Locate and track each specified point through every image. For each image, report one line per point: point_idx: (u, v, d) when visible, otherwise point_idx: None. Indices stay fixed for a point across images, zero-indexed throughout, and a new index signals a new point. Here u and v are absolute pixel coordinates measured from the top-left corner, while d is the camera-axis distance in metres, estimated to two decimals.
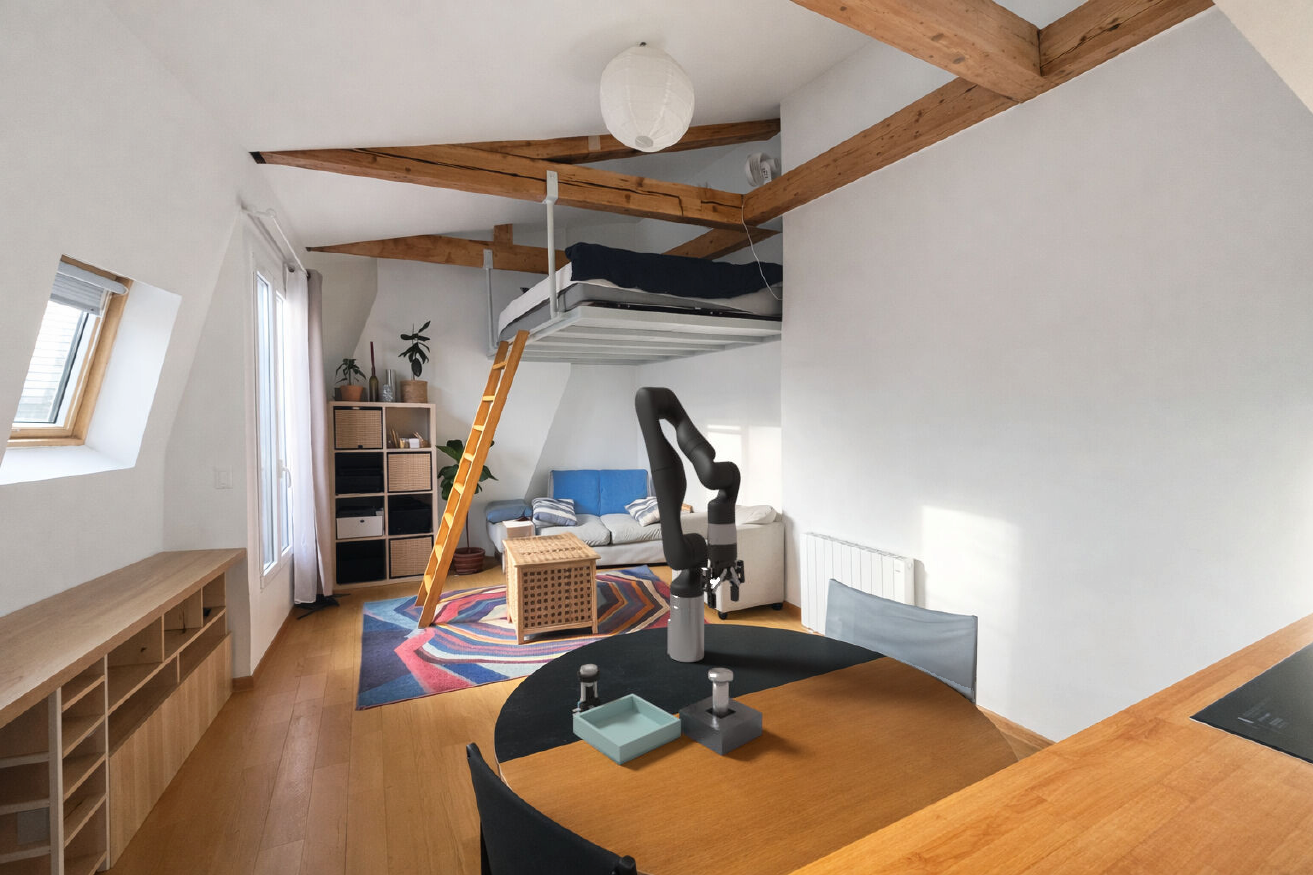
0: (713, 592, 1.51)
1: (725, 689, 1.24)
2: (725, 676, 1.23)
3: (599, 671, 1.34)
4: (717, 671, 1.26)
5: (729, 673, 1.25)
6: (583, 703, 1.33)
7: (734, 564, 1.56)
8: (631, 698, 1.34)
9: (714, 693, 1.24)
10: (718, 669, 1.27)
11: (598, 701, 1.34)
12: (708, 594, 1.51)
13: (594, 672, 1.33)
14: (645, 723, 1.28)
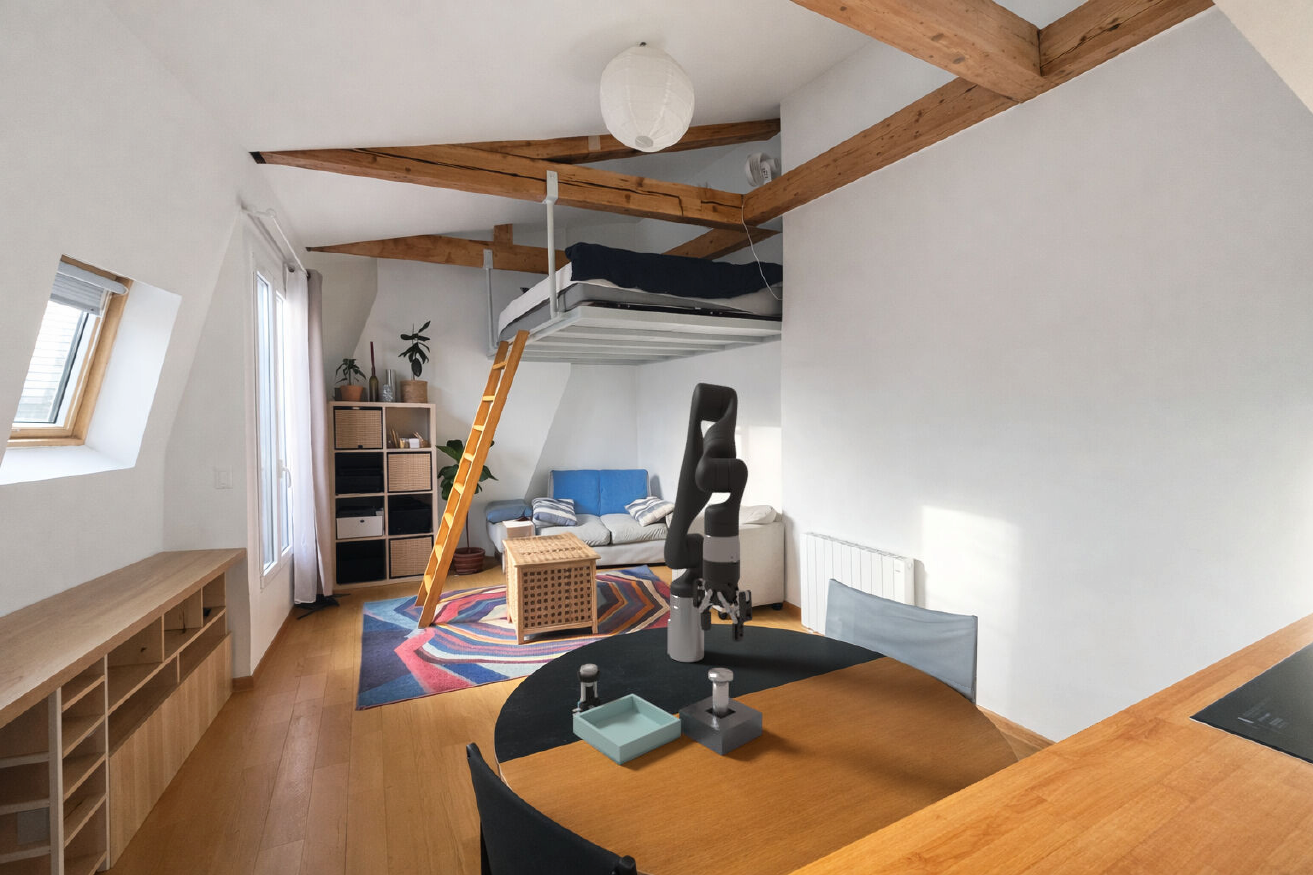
0: None
1: (725, 689, 1.24)
2: (725, 676, 1.23)
3: (599, 671, 1.34)
4: (717, 671, 1.26)
5: (729, 673, 1.25)
6: (583, 703, 1.33)
7: None
8: (631, 698, 1.34)
9: (714, 693, 1.24)
10: (718, 669, 1.27)
11: (598, 701, 1.34)
12: (740, 624, 1.21)
13: (594, 672, 1.33)
14: (645, 723, 1.28)
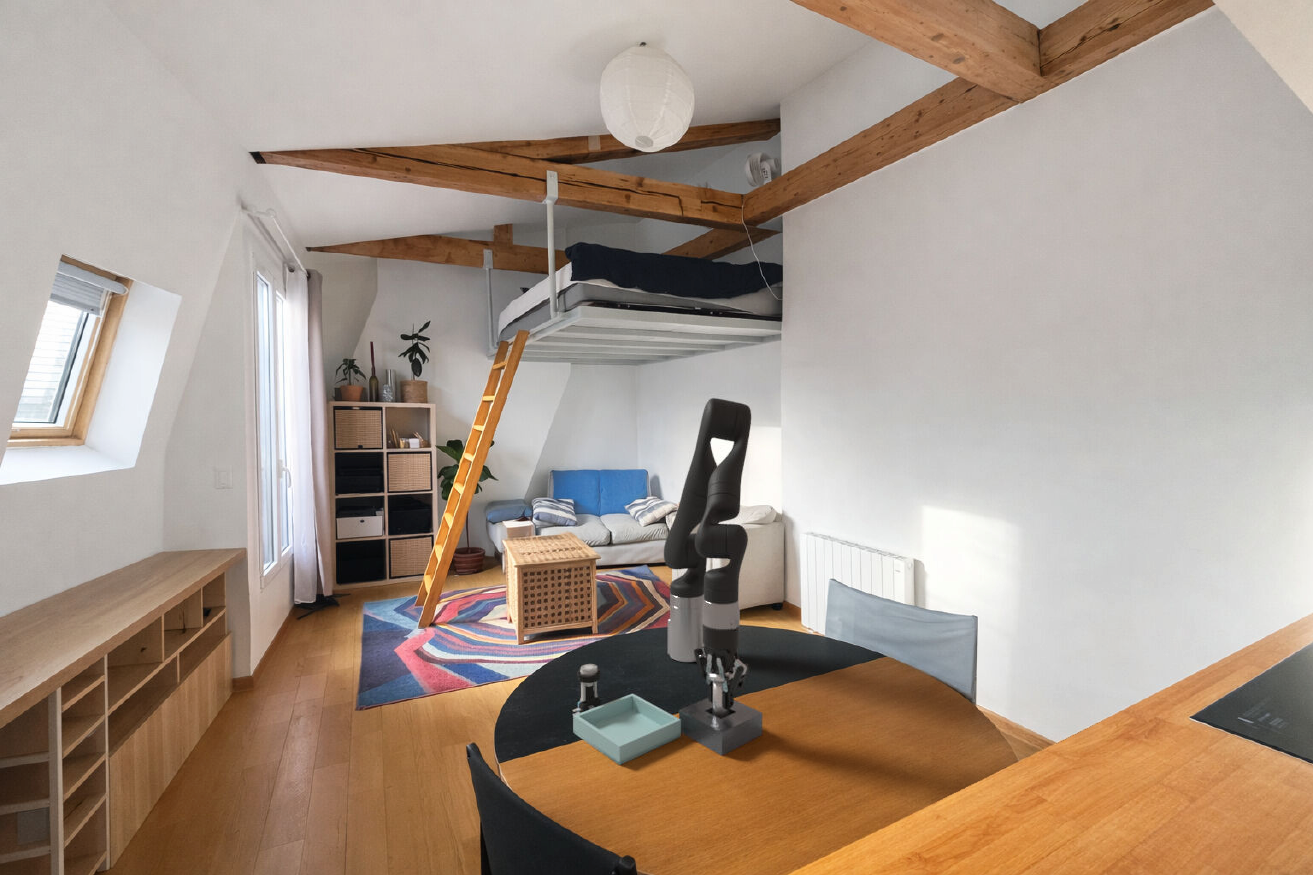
0: None
1: None
2: None
3: (599, 671, 1.34)
4: (717, 671, 1.26)
5: None
6: (583, 703, 1.33)
7: None
8: (631, 698, 1.34)
9: (714, 693, 1.24)
10: None
11: (598, 701, 1.34)
12: (731, 692, 1.23)
13: (594, 672, 1.33)
14: (645, 723, 1.28)
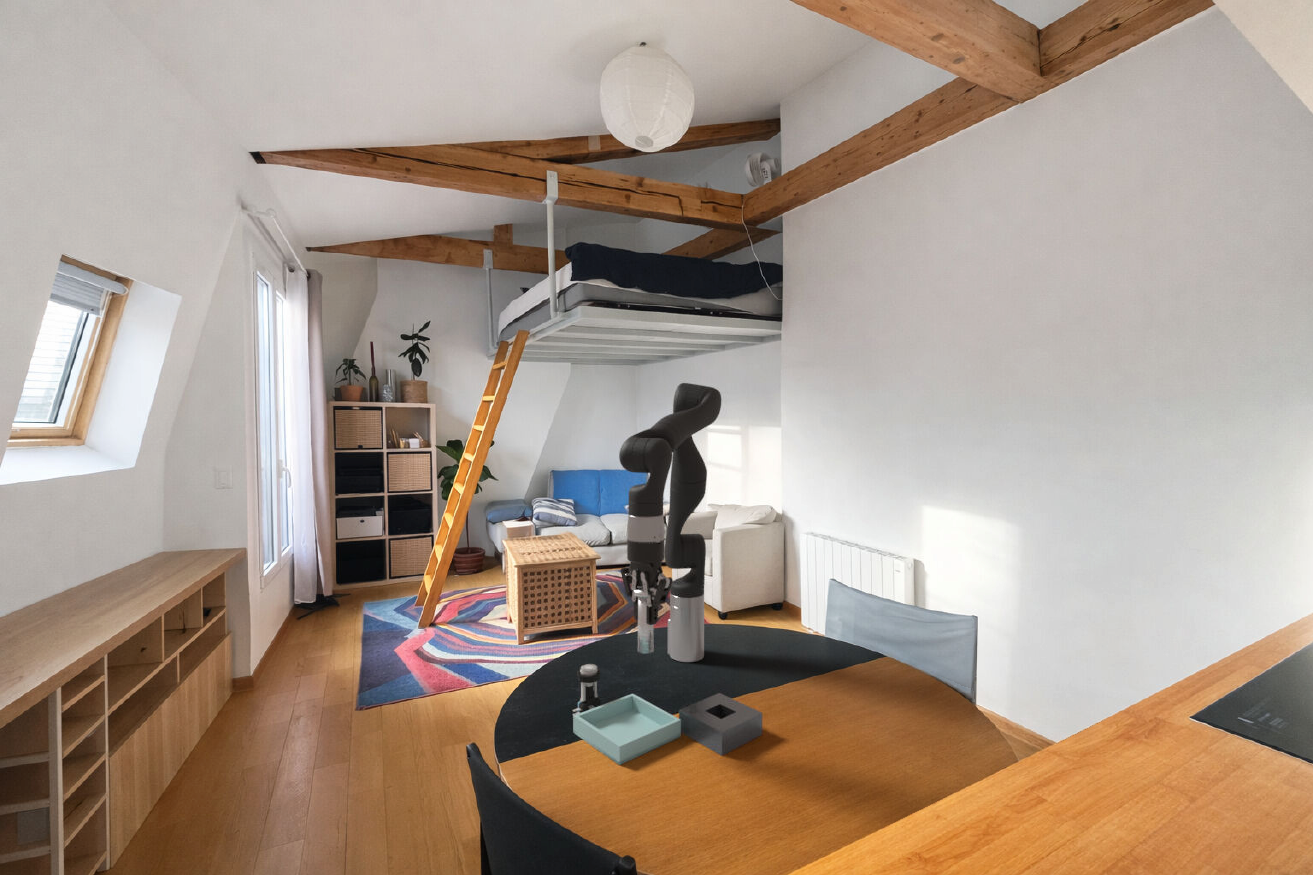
0: None
1: None
2: None
3: (599, 671, 1.34)
4: (642, 588, 1.24)
5: None
6: (583, 703, 1.33)
7: None
8: (631, 698, 1.34)
9: (639, 609, 1.23)
10: None
11: (598, 701, 1.34)
12: (654, 607, 1.21)
13: (594, 672, 1.33)
14: (645, 723, 1.28)
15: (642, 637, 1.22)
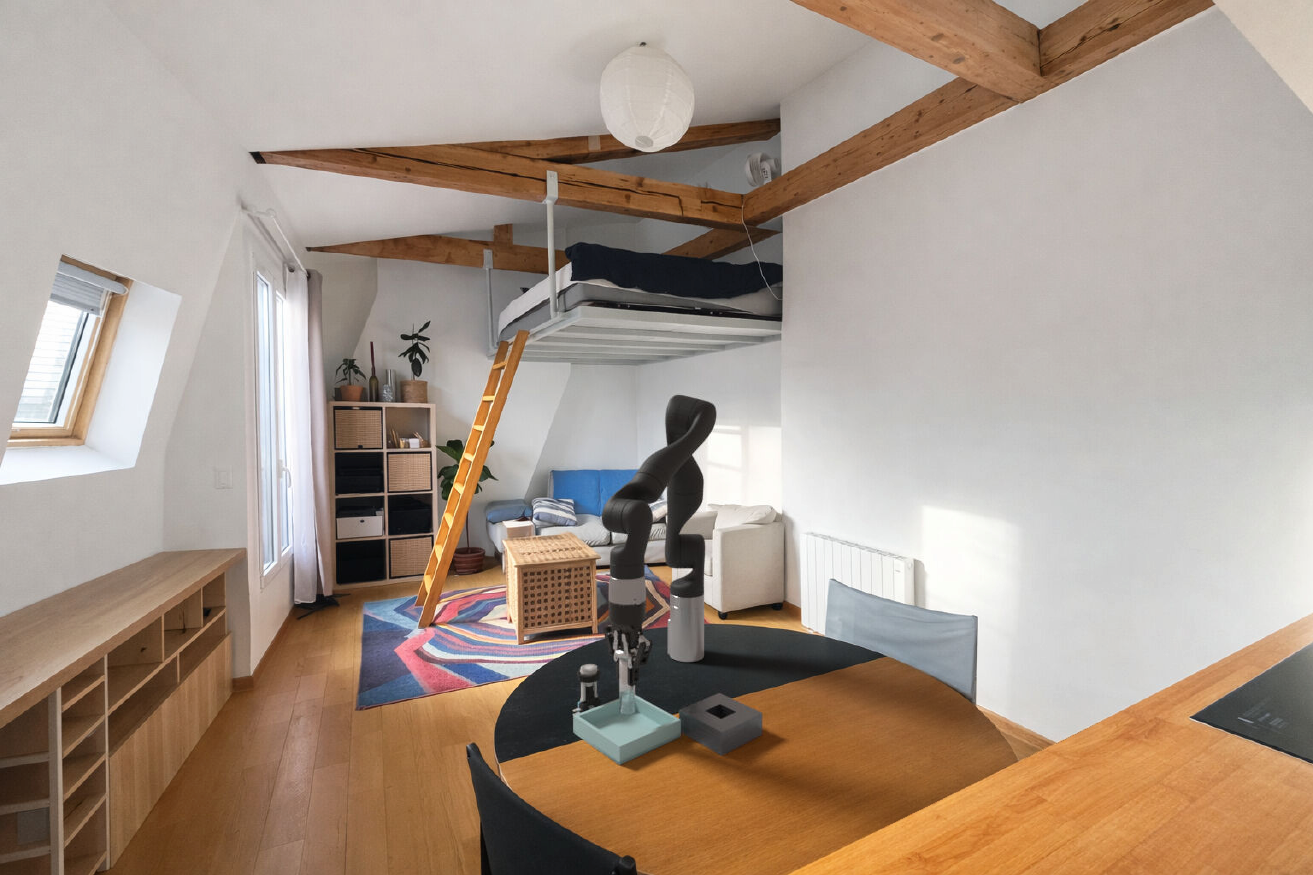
0: None
1: None
2: None
3: (599, 671, 1.34)
4: None
5: None
6: (583, 703, 1.33)
7: None
8: None
9: (620, 670, 1.23)
10: None
11: (598, 701, 1.34)
12: (635, 669, 1.22)
13: (594, 672, 1.33)
14: (645, 723, 1.28)
15: (623, 698, 1.23)
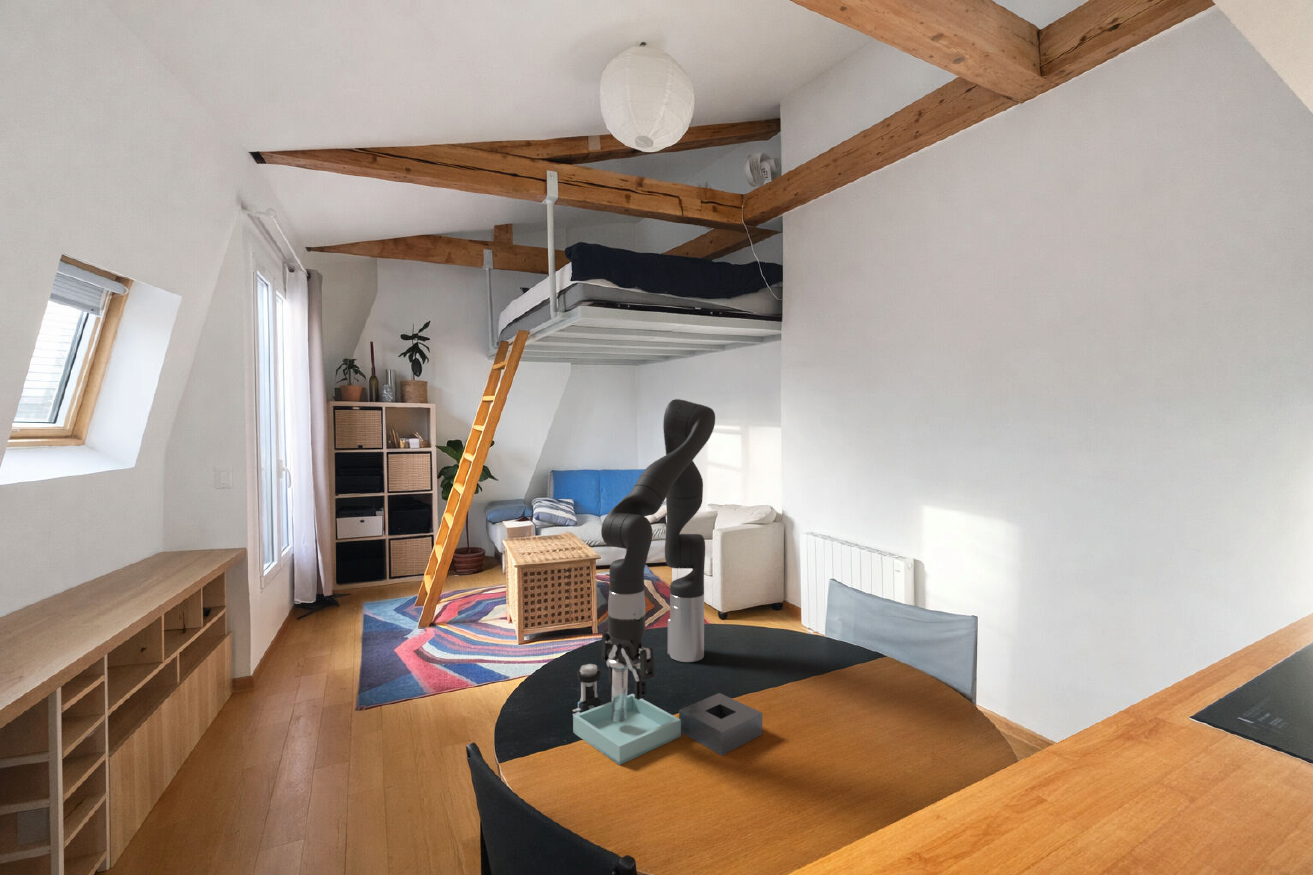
0: None
1: (623, 676, 1.25)
2: (623, 662, 1.24)
3: (599, 671, 1.34)
4: None
5: None
6: (583, 703, 1.33)
7: None
8: (631, 698, 1.34)
9: (613, 679, 1.25)
10: None
11: (598, 701, 1.34)
12: (642, 682, 1.20)
13: (594, 672, 1.33)
14: (645, 723, 1.28)
15: (615, 706, 1.25)
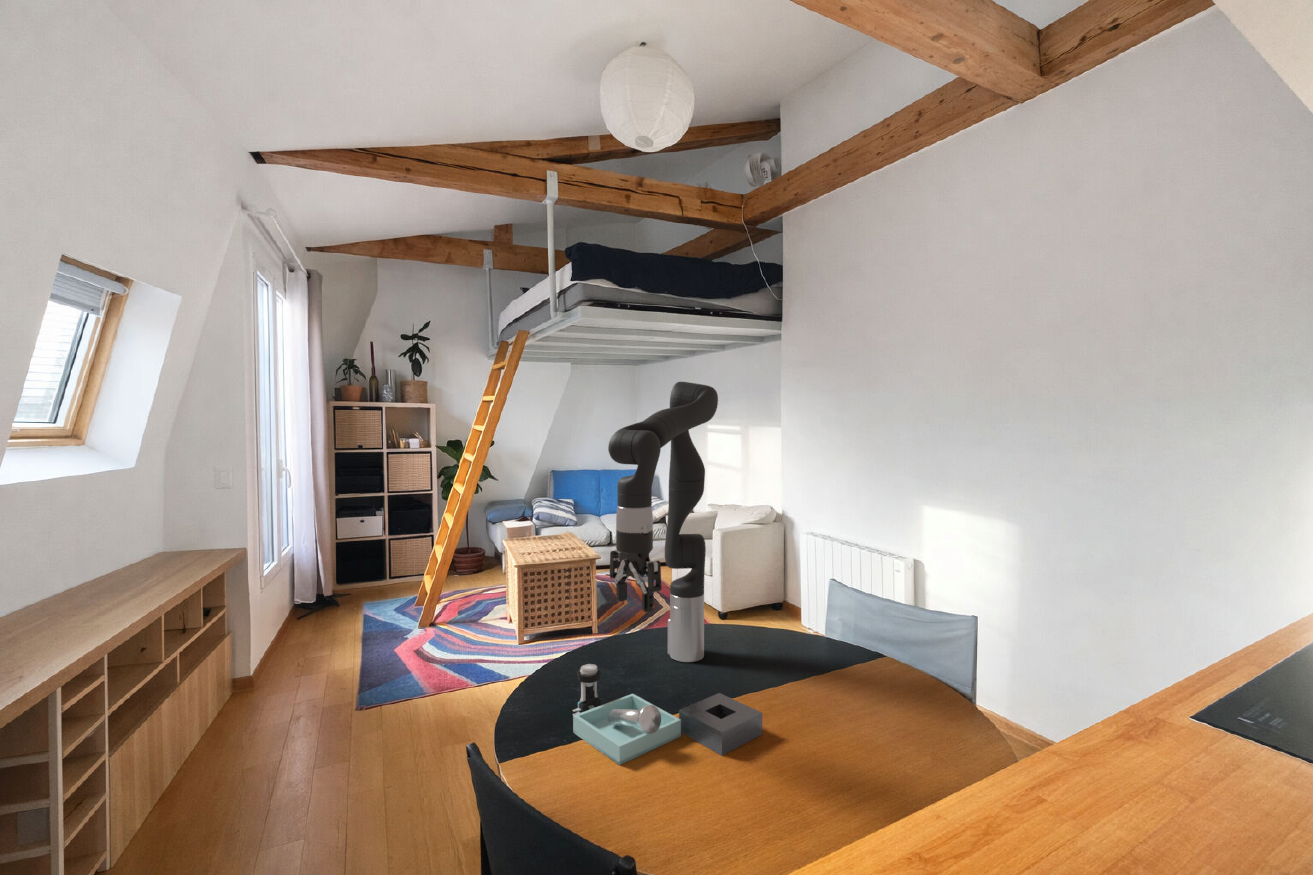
0: None
1: None
2: (650, 729, 1.18)
3: (599, 671, 1.34)
4: (650, 714, 1.19)
5: (657, 724, 1.19)
6: (583, 703, 1.33)
7: None
8: (631, 698, 1.34)
9: (632, 719, 1.20)
10: (652, 709, 1.19)
11: (598, 701, 1.34)
12: (650, 594, 1.22)
13: (594, 672, 1.33)
14: None
15: (618, 723, 1.24)
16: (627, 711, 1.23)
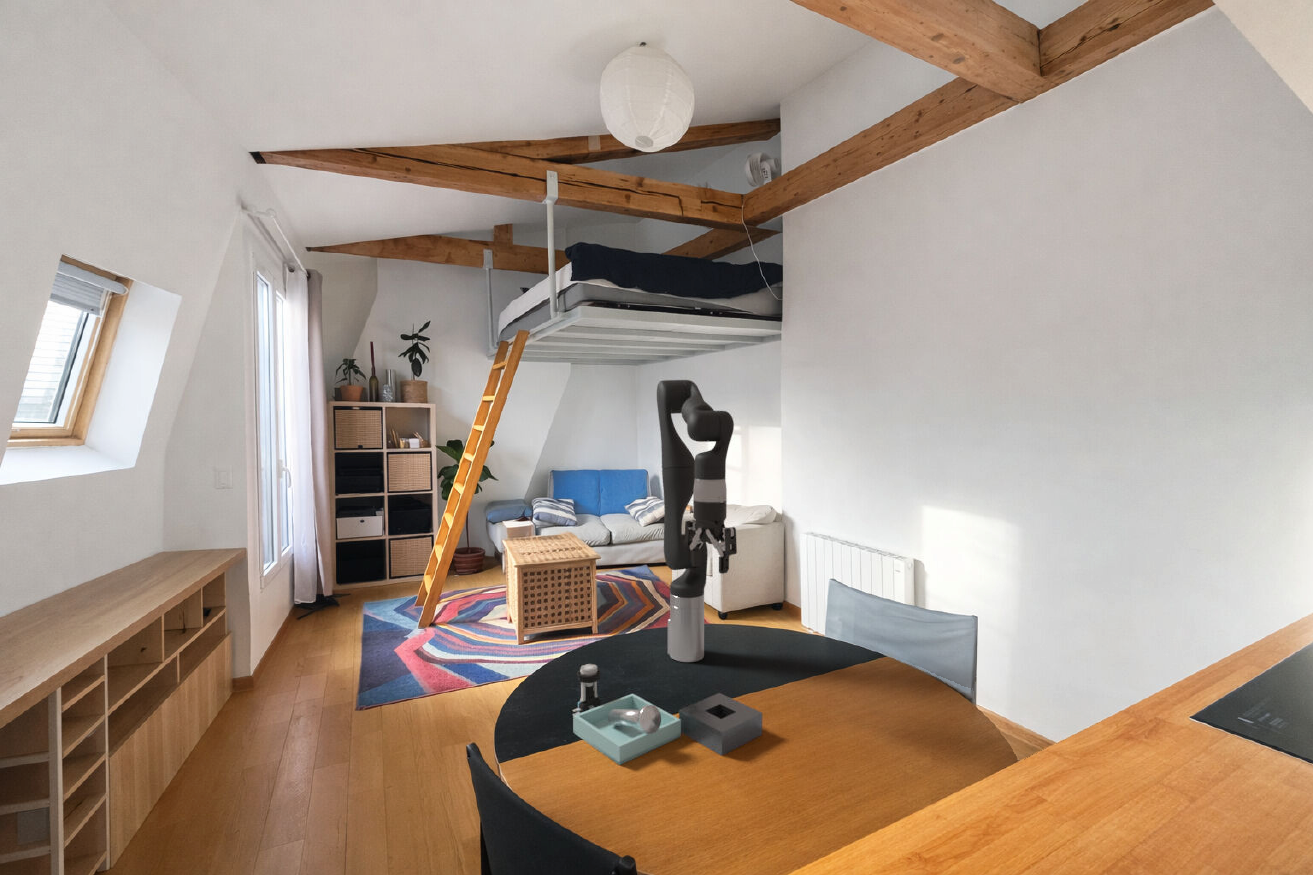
0: None
1: None
2: (650, 729, 1.18)
3: (599, 671, 1.34)
4: (650, 714, 1.19)
5: (657, 724, 1.19)
6: (583, 703, 1.33)
7: None
8: (631, 698, 1.34)
9: (632, 719, 1.20)
10: (652, 709, 1.19)
11: (598, 701, 1.34)
12: (726, 558, 1.35)
13: (594, 672, 1.33)
14: None
15: (618, 723, 1.24)
16: (627, 711, 1.23)
